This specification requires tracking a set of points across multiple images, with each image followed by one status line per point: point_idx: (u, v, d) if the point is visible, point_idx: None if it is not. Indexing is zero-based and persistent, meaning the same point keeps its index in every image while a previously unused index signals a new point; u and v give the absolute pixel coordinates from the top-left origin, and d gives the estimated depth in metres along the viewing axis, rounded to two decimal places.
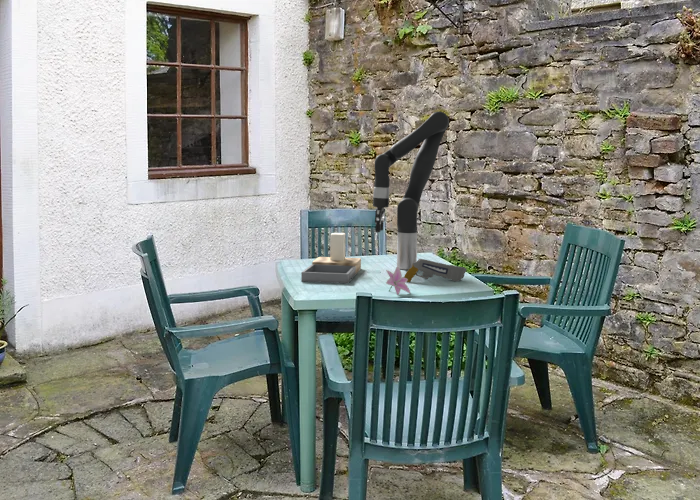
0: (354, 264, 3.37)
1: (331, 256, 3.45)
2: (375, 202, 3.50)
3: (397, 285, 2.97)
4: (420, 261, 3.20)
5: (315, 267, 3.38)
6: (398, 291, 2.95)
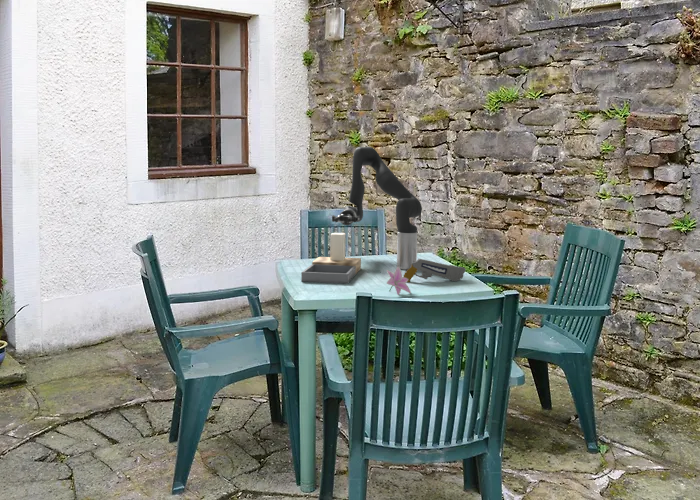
0: (354, 264, 3.37)
1: (331, 256, 3.45)
2: None
3: (397, 285, 2.97)
4: (419, 261, 3.20)
5: (315, 267, 3.38)
6: (399, 291, 2.95)
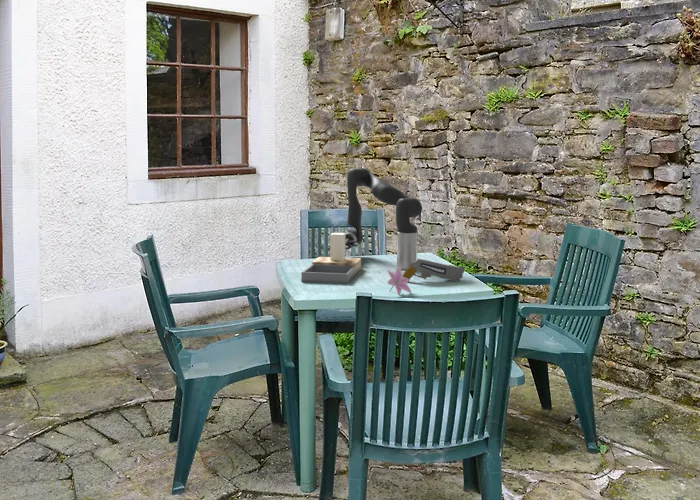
0: (354, 264, 3.37)
1: (331, 256, 3.45)
2: None
3: (398, 285, 2.97)
4: (418, 261, 3.20)
5: (315, 267, 3.38)
6: (399, 291, 2.95)
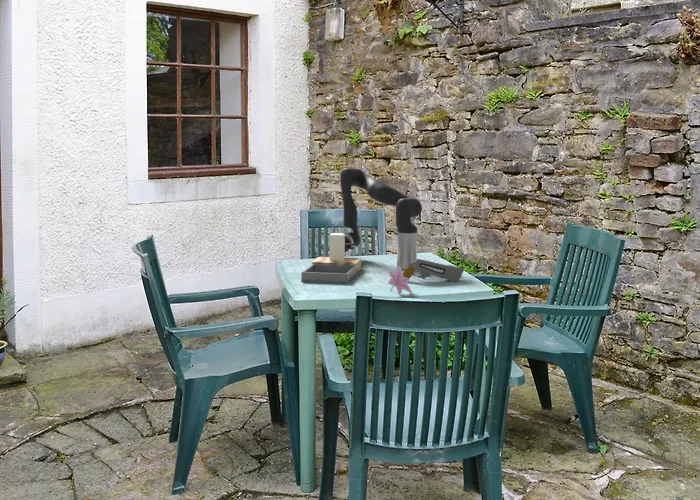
0: (354, 264, 3.37)
1: (330, 257, 3.43)
2: None
3: (399, 285, 2.97)
4: (417, 261, 3.20)
5: (315, 267, 3.38)
6: (400, 291, 2.94)
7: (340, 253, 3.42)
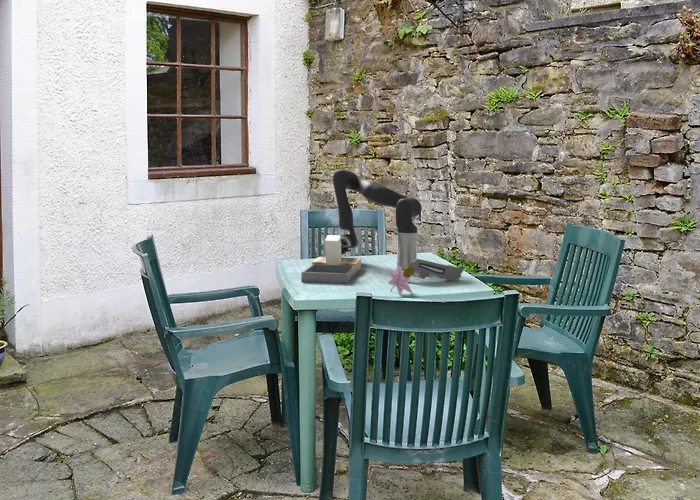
0: (354, 264, 3.37)
1: (327, 261, 3.36)
2: None
3: (399, 285, 2.97)
4: (417, 261, 3.20)
5: (315, 267, 3.38)
6: (400, 291, 2.94)
7: (337, 258, 3.34)
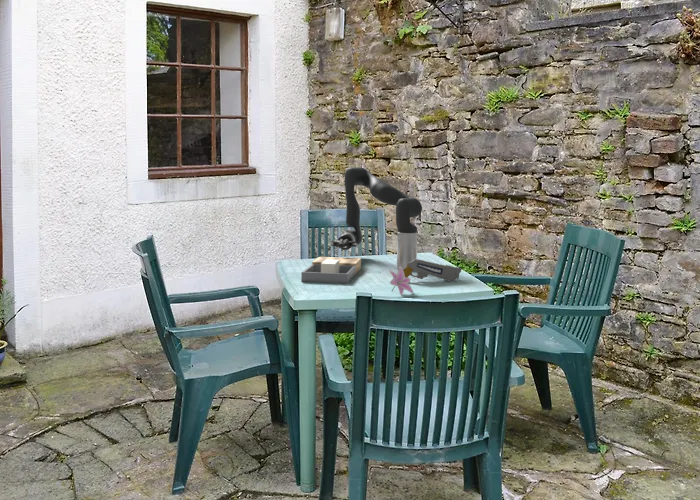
0: (354, 264, 3.37)
1: None
2: None
3: (400, 285, 2.97)
4: (415, 261, 3.20)
5: (315, 267, 3.38)
6: (401, 291, 2.94)
7: None
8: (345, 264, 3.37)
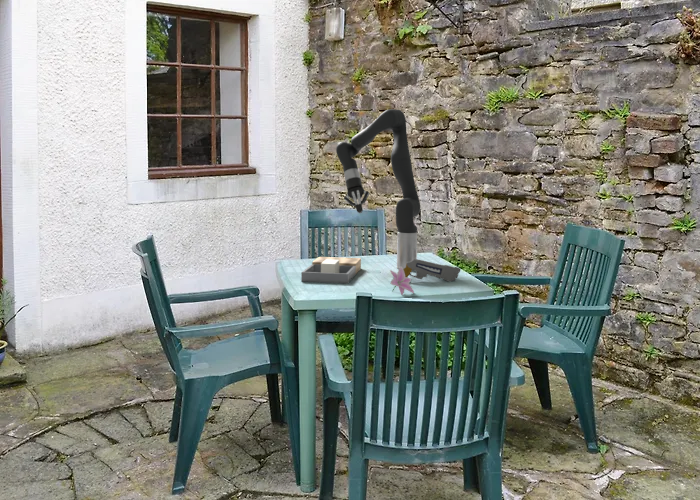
0: (354, 264, 3.37)
1: None
2: None
3: (401, 285, 2.97)
4: (414, 261, 3.20)
5: (315, 267, 3.38)
6: (402, 291, 2.94)
7: None
8: (345, 264, 3.37)
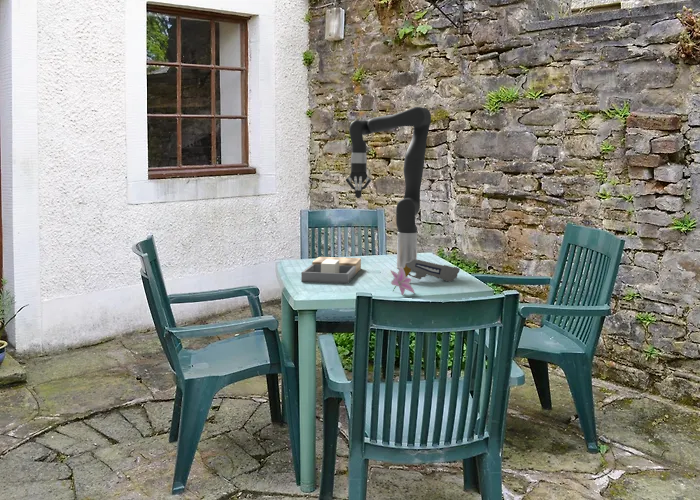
0: (354, 264, 3.37)
1: None
2: None
3: (401, 285, 2.97)
4: (413, 261, 3.20)
5: (315, 267, 3.38)
6: (403, 291, 2.94)
7: None
8: (345, 264, 3.37)
